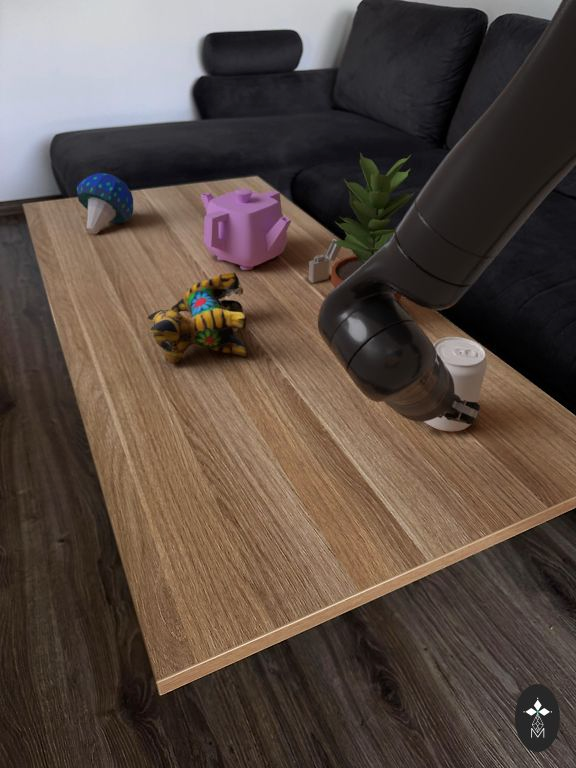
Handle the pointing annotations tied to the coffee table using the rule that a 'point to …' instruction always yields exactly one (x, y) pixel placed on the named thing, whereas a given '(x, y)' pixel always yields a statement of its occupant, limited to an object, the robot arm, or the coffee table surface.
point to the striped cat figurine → (202, 319)
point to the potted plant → (369, 217)
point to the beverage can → (461, 374)
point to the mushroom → (105, 200)
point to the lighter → (322, 264)
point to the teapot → (245, 226)
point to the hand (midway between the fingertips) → (439, 409)
